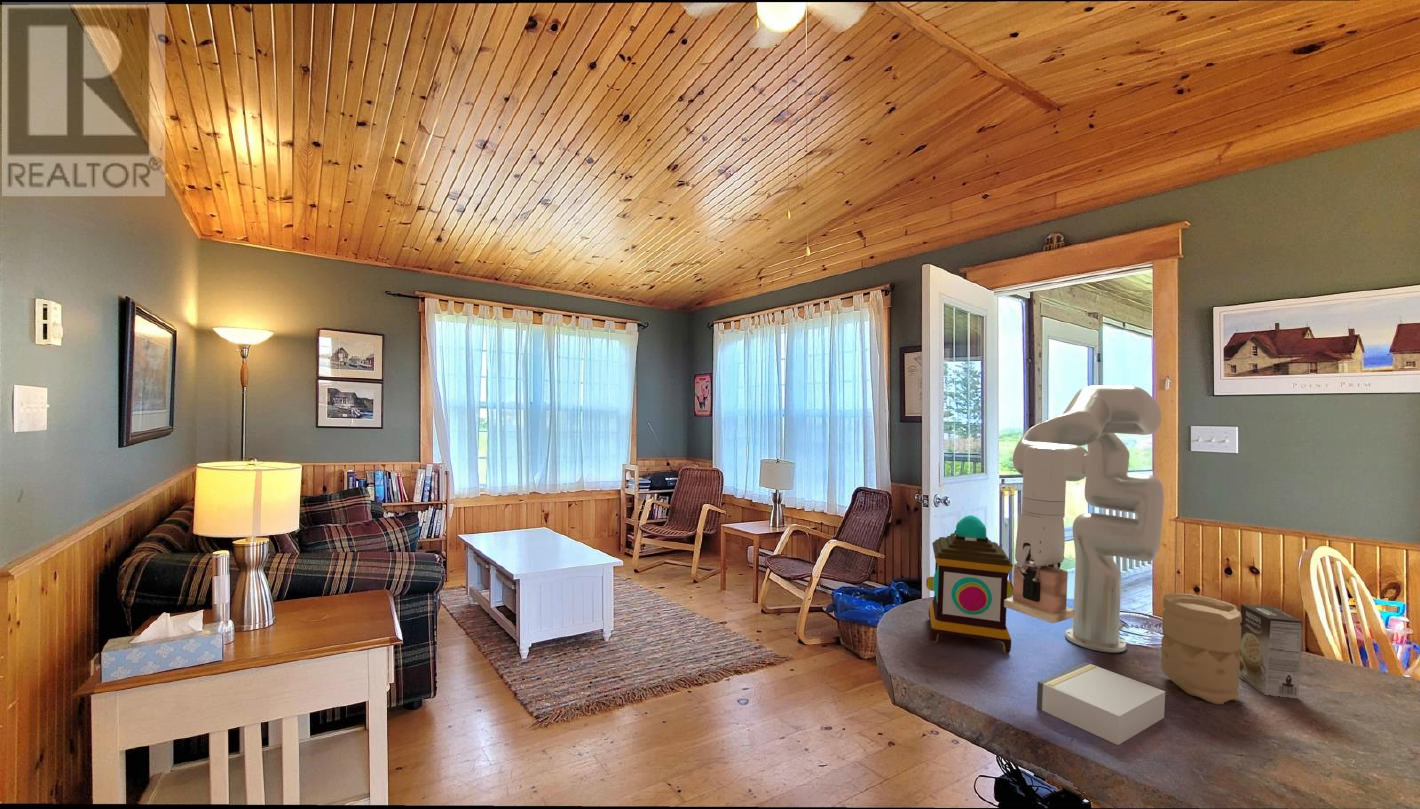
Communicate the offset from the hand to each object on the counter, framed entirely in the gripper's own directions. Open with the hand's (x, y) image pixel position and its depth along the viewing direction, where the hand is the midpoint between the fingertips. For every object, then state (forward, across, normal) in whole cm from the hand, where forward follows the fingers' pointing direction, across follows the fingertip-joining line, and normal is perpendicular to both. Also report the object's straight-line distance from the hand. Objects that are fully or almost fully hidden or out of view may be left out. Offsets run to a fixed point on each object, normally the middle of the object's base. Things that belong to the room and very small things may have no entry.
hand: (1039, 596), depth 121 cm
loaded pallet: (+3, 0, 0) cm, 3 cm away
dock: (+19, -3, +11) cm, 22 cm away
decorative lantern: (+20, -13, -25) cm, 34 cm away
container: (+20, -32, +15) cm, 41 cm away
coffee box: (+20, -47, +22) cm, 56 cm away
